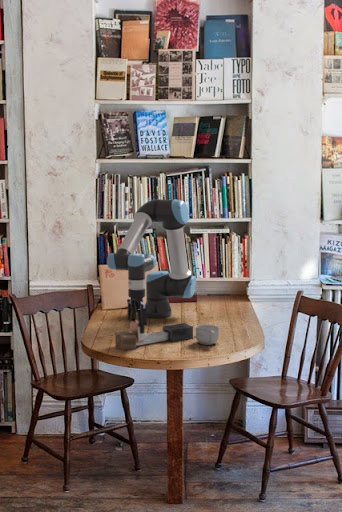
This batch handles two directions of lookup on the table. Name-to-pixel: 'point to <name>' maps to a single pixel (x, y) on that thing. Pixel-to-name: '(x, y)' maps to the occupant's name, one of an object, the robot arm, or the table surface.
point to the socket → (125, 340)
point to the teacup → (207, 334)
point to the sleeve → (179, 331)
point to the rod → (149, 335)
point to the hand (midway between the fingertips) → (137, 338)
